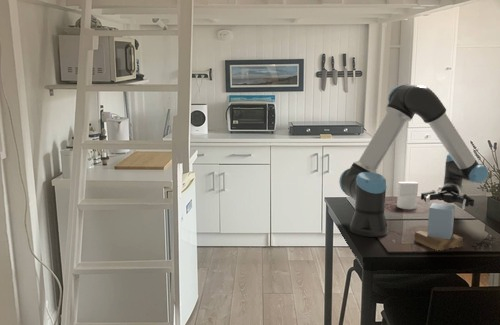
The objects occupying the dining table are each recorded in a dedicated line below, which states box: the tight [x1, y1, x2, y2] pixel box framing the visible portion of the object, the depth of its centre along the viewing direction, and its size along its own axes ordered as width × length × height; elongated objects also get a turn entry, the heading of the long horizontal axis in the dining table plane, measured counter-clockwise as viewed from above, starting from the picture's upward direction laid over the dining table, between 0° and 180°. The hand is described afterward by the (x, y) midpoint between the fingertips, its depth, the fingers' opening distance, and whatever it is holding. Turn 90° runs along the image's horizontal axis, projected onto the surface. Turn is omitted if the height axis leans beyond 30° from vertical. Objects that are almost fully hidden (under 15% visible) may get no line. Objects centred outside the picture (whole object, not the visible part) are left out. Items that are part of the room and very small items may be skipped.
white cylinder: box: [396, 181, 419, 210], centre depth 236 cm, size 9×9×12 cm
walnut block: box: [414, 229, 464, 252], centre depth 186 cm, size 12×12×4 cm
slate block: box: [427, 202, 456, 240], centre depth 184 cm, size 8×8×11 cm
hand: (444, 203), depth 193 cm, fingers open, 13 cm apart
